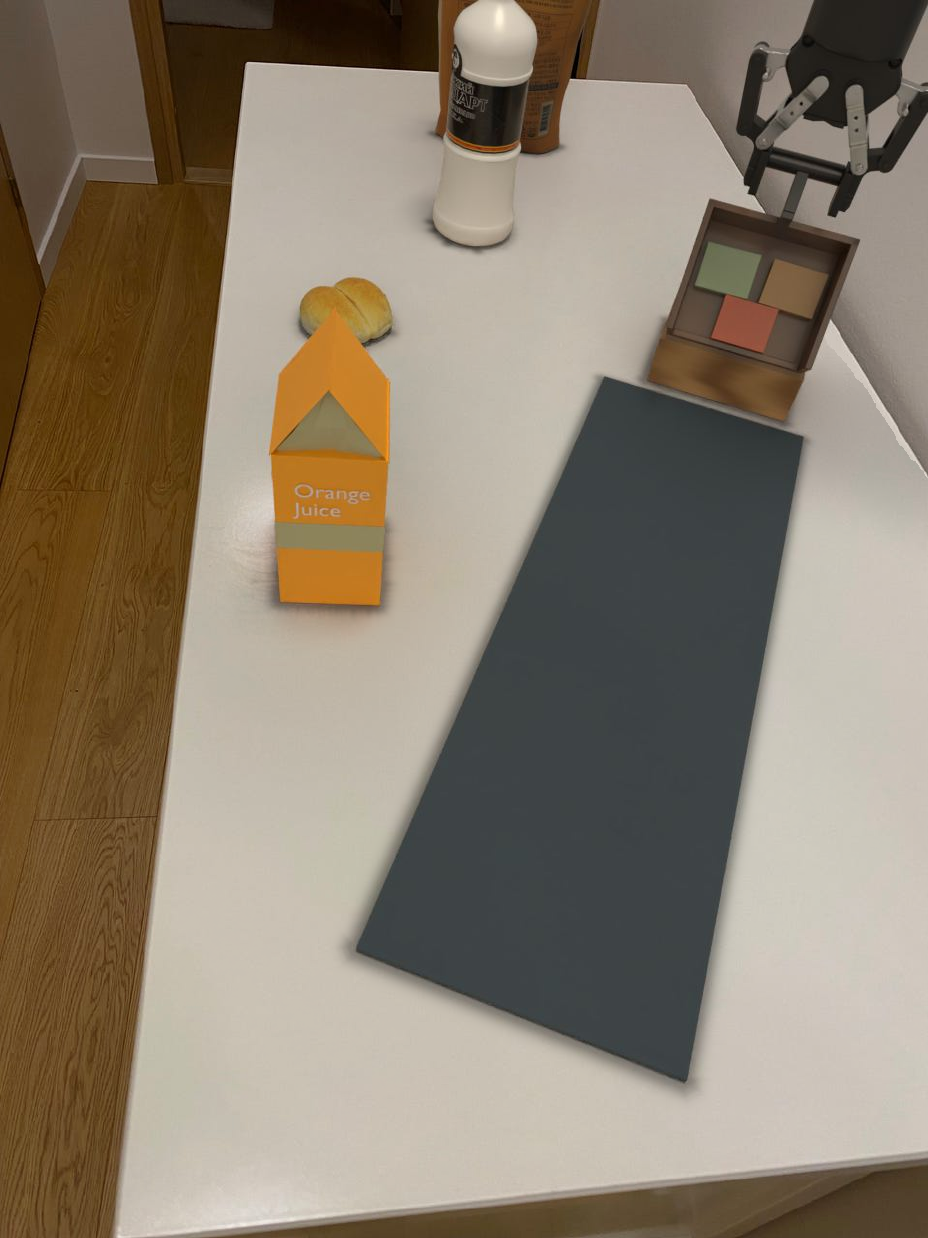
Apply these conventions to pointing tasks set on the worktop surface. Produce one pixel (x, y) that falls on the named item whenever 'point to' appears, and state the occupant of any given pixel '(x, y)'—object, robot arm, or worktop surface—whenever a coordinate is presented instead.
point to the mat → (605, 738)
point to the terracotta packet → (744, 323)
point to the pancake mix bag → (559, 21)
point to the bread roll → (349, 307)
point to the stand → (724, 376)
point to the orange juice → (330, 470)
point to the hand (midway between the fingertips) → (792, 200)
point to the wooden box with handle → (769, 266)
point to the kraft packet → (793, 289)
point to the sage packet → (727, 270)
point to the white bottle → (484, 122)
